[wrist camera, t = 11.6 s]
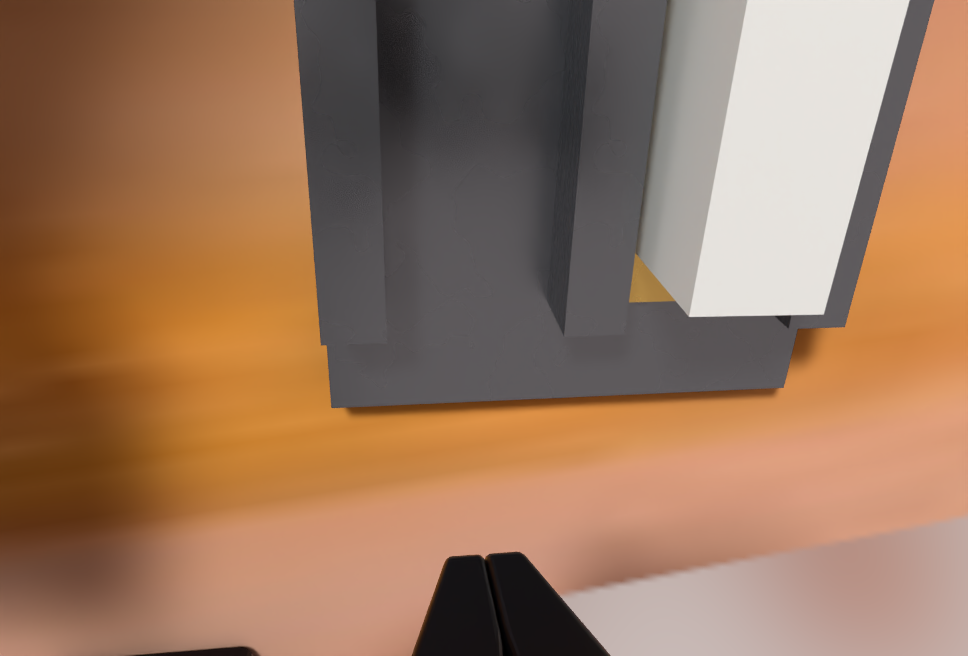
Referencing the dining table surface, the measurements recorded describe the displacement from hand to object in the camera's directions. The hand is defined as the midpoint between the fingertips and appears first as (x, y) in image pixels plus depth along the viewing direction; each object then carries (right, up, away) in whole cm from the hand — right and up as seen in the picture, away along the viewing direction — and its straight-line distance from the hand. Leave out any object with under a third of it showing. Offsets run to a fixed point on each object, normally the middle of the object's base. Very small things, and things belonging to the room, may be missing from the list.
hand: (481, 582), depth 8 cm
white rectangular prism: (+5, +8, +9) cm, 14 cm away
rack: (+2, +8, +10) cm, 13 cm away
